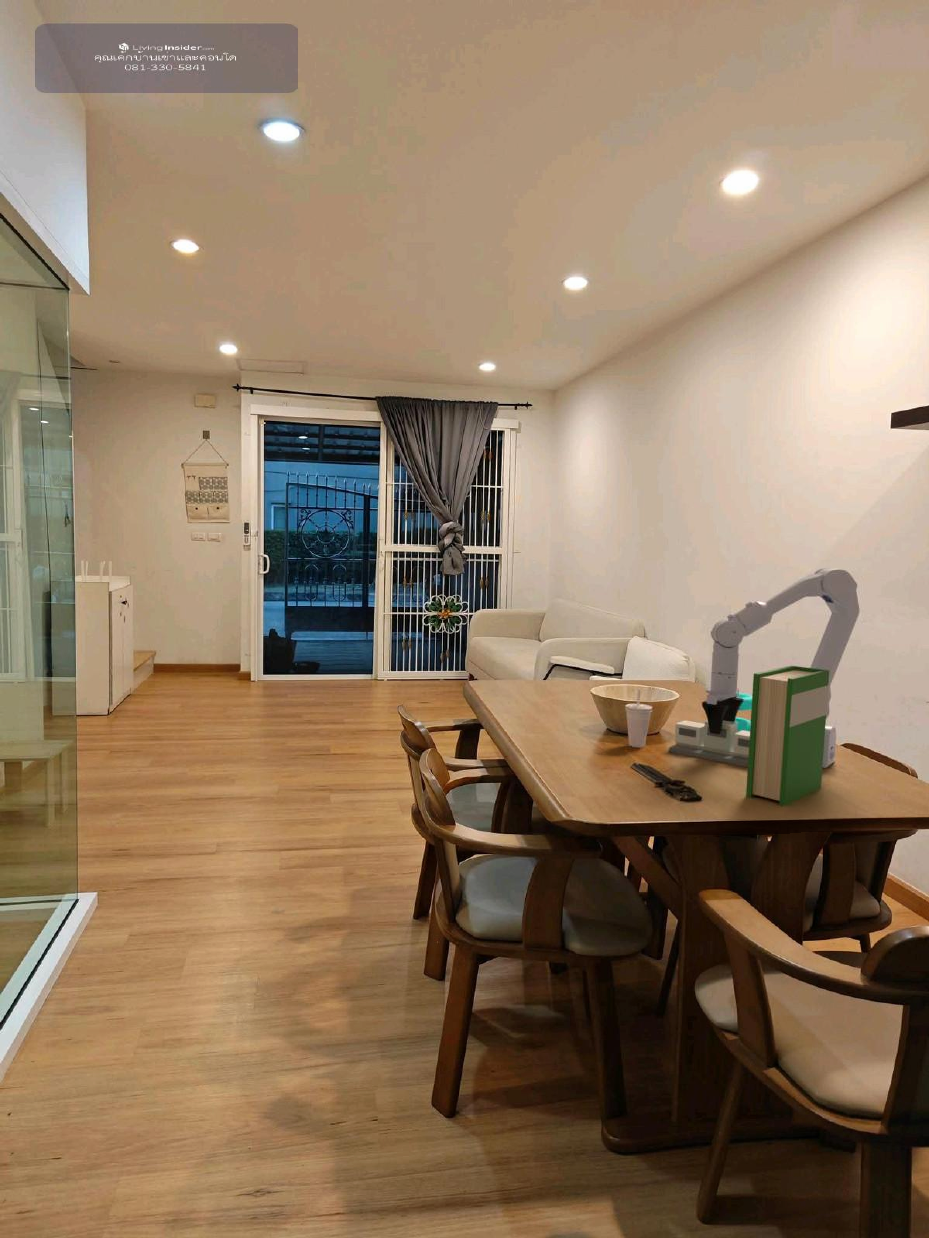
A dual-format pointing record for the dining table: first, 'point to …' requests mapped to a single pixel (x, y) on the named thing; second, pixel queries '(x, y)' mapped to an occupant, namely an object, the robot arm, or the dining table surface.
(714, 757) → the plate
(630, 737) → the smoothie
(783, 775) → the hardback book
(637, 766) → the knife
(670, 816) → the dining table surface
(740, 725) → the donuts
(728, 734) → the block
